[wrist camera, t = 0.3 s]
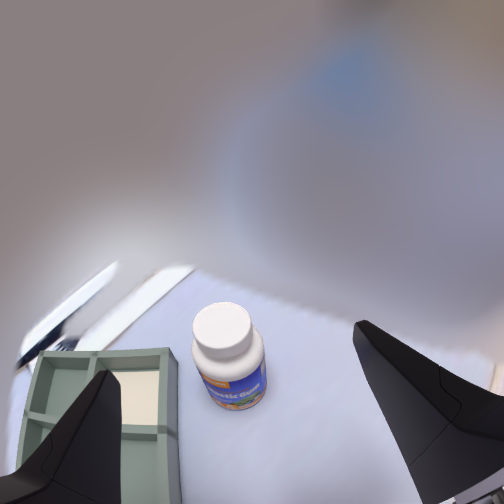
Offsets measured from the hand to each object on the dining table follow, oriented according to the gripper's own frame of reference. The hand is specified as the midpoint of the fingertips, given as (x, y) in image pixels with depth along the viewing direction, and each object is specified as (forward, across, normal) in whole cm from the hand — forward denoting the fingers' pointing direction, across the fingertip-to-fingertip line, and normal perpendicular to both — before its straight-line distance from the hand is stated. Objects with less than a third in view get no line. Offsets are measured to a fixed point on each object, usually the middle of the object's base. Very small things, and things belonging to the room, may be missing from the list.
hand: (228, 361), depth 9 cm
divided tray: (+5, +16, +15) cm, 22 cm away
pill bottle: (+9, +2, +15) cm, 18 cm away
